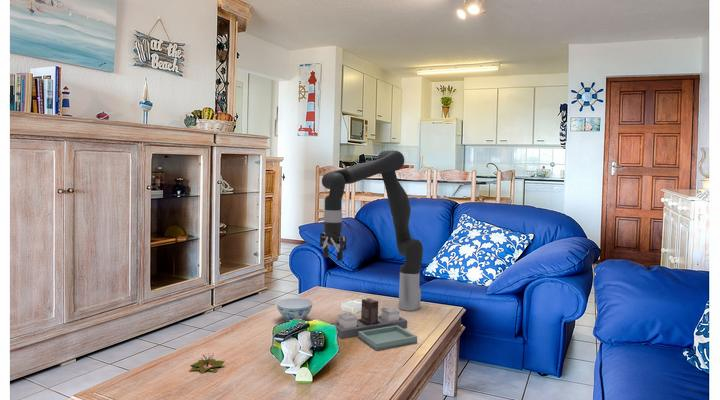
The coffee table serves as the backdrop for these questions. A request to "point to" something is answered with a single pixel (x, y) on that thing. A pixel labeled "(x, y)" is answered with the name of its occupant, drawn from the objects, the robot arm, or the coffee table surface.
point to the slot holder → (367, 327)
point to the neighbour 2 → (390, 314)
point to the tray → (387, 337)
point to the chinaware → (294, 308)
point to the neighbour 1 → (347, 320)
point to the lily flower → (207, 362)
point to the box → (369, 312)
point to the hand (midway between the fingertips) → (332, 259)
